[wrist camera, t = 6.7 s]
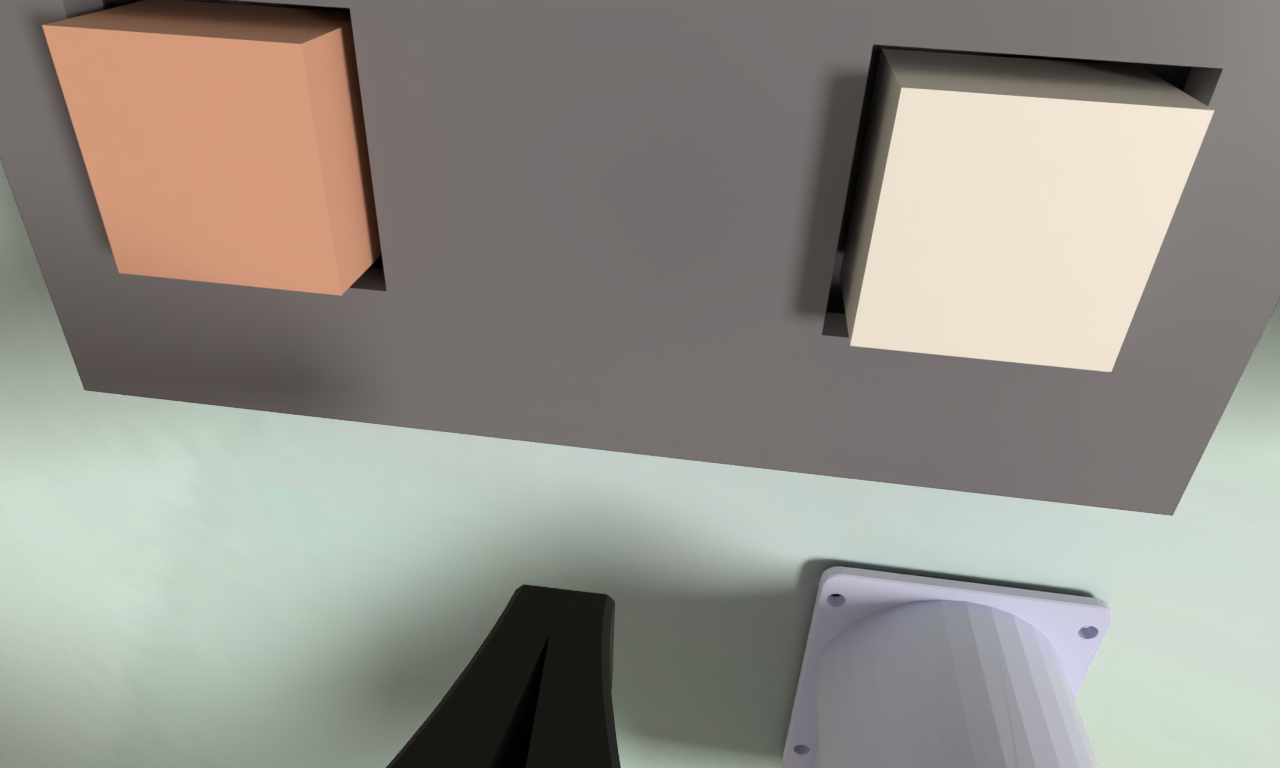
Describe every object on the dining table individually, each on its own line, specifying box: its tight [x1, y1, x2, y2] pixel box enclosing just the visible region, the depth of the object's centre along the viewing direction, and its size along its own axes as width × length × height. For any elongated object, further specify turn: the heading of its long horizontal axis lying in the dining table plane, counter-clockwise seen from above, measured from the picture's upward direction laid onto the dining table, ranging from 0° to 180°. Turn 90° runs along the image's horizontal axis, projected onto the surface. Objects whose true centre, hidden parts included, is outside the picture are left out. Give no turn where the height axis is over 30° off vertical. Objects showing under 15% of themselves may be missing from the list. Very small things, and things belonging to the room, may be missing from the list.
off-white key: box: [840, 49, 1215, 372], centre depth 15 cm, size 4×4×3 cm
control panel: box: [0, 0, 1280, 516], centre depth 17 cm, size 12×24×4 cm, turn 88°
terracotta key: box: [42, 0, 382, 296], centre depth 16 cm, size 4×4×3 cm
